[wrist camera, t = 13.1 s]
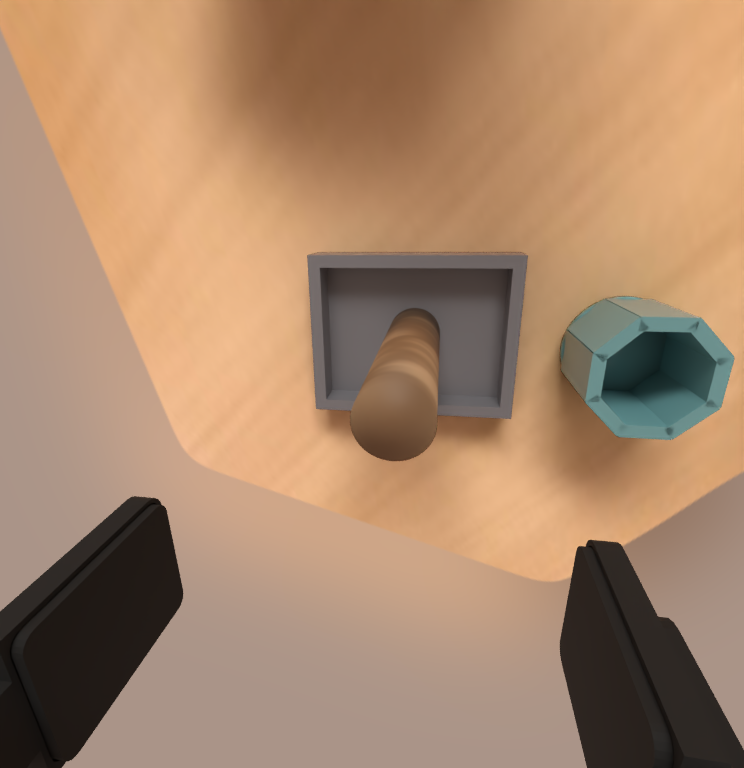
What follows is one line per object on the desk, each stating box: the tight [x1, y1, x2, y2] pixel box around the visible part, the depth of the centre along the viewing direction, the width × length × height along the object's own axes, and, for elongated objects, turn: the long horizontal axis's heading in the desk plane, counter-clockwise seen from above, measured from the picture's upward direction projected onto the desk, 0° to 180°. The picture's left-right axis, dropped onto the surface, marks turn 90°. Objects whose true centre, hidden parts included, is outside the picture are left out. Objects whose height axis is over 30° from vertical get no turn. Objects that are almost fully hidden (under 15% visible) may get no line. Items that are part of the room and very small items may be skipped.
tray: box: [307, 252, 528, 419], centre depth 32 cm, size 14×11×3 cm
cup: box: [560, 296, 734, 440], centre depth 28 cm, size 7×7×6 cm
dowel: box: [350, 308, 440, 461], centre depth 26 cm, size 4×4×15 cm
